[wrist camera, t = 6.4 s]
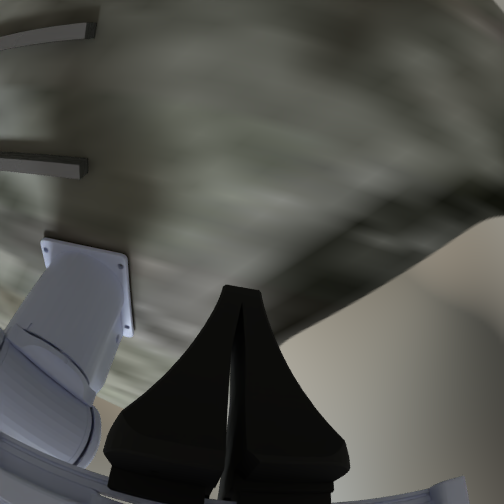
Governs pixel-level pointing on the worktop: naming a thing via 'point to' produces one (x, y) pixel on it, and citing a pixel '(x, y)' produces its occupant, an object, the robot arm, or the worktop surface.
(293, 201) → the worktop surface
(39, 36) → the rails
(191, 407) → the robot arm
